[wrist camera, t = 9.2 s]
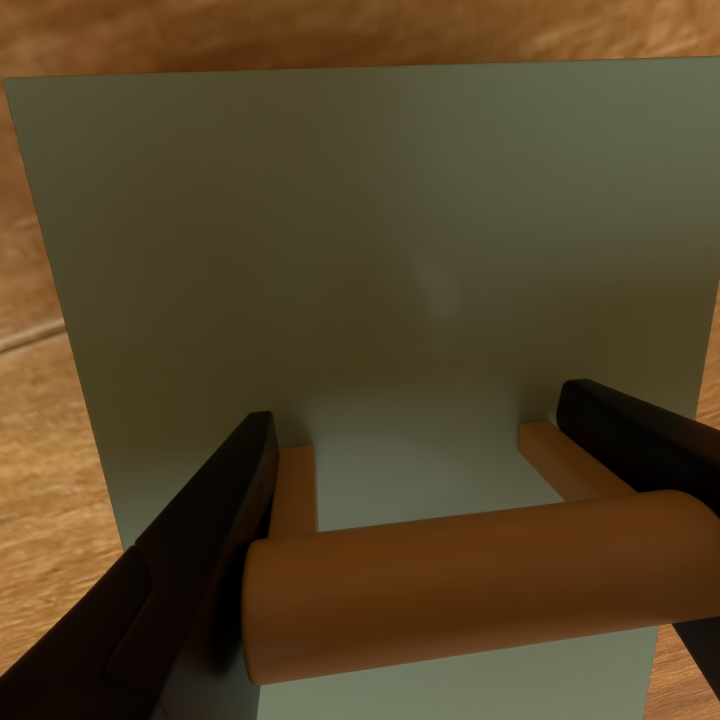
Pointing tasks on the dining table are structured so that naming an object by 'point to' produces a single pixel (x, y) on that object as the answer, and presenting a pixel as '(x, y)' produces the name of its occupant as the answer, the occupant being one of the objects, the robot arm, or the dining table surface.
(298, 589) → the lid
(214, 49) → the dining table surface
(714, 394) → the dining table surface
